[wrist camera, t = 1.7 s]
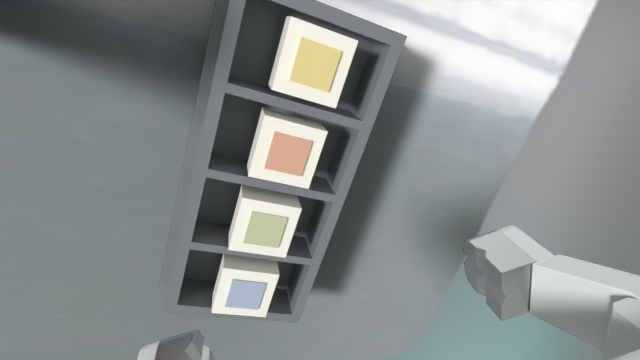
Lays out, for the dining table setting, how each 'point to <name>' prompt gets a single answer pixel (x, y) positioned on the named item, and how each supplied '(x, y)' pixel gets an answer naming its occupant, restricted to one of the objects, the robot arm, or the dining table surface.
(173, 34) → the dining table surface
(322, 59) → the key
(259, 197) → the key
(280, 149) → the key
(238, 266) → the white and blue block
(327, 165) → the grey compartment tray
